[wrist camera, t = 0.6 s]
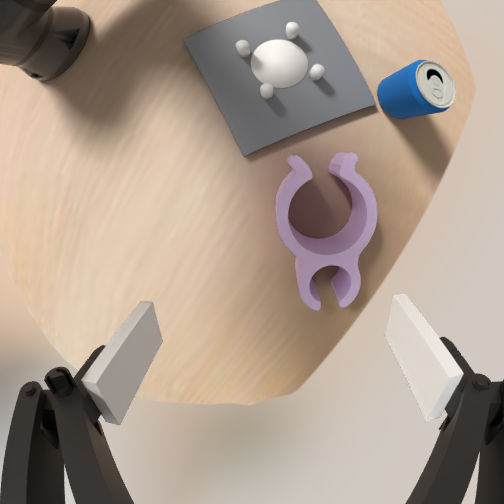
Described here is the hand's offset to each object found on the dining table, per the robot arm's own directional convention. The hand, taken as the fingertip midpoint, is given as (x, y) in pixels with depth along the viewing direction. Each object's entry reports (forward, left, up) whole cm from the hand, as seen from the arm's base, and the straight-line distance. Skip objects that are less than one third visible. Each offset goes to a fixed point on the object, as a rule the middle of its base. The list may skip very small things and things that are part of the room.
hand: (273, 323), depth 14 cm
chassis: (-19, +10, -27) cm, 34 cm away
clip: (+4, +6, -27) cm, 28 cm away
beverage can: (-9, +24, -27) cm, 37 cm away
